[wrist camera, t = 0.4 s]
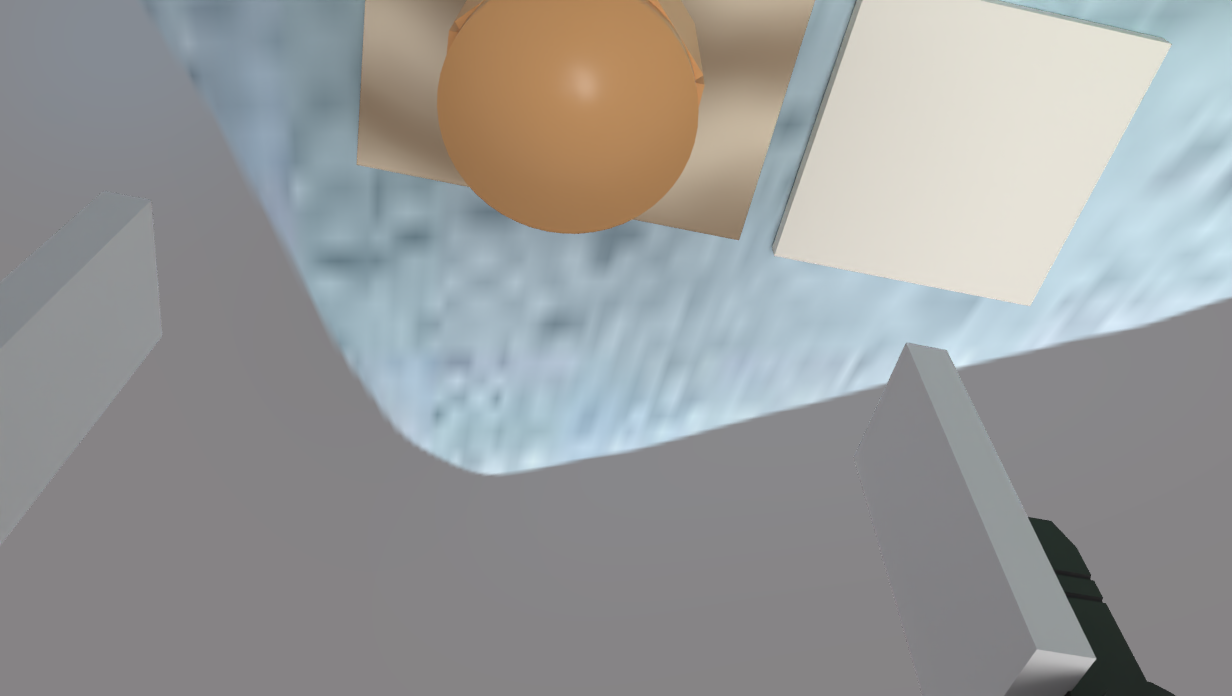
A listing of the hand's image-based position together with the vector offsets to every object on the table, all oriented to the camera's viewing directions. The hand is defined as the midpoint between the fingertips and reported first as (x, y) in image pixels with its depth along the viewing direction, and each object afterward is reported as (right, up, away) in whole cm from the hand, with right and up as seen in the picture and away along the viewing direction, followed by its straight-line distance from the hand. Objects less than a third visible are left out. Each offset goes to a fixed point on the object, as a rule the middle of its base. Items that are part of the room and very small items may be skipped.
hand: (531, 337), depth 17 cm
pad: (+16, +8, +22) cm, 29 cm away
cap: (0, +9, +13) cm, 16 cm away
